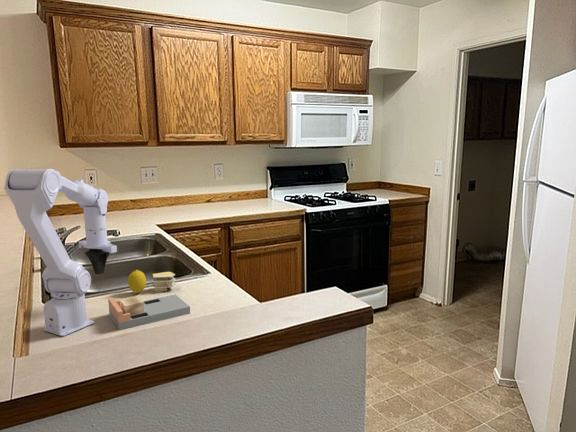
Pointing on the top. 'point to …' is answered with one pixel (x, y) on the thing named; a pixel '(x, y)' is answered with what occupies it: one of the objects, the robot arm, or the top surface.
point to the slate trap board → (155, 311)
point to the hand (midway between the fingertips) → (99, 273)
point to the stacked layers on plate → (163, 281)
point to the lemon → (137, 281)
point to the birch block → (132, 306)
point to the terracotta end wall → (118, 311)
